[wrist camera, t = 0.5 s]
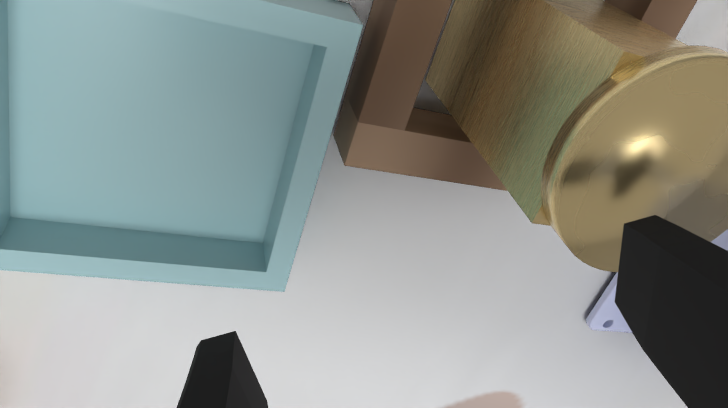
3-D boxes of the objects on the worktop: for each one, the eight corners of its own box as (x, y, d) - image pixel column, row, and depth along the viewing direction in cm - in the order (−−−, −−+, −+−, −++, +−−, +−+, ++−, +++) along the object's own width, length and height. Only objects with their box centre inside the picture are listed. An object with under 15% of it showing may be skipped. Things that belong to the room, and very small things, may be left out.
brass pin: (601, -24, 19) (839, 89, 12) (533, 117, 21) (695, 281, 14) (462, -68, 17) (642, 33, 10) (406, 91, 20) (518, 261, 12)
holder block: (685, -72, 18) (731, -59, 17) (555, 173, 23) (581, 202, 21) (424, -170, 15) (449, -164, 14) (333, 135, 20) (344, 165, 18)
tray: (348, 3, 17) (363, 25, 16) (278, 255, 22) (284, 291, 21) (-28, -92, 14) (-57, -77, 13) (-15, 227, 19) (-35, 267, 17)
